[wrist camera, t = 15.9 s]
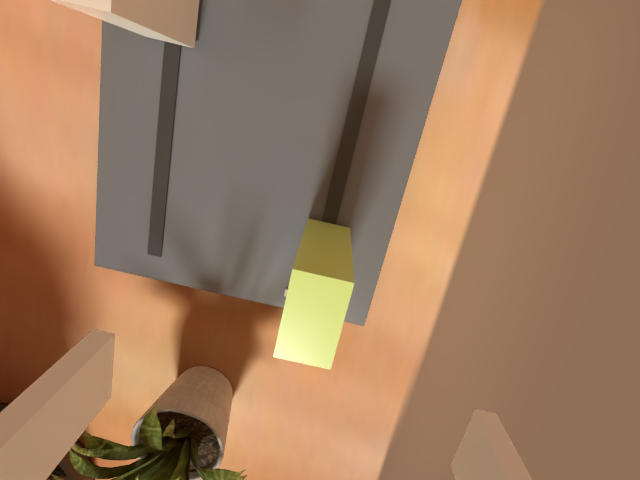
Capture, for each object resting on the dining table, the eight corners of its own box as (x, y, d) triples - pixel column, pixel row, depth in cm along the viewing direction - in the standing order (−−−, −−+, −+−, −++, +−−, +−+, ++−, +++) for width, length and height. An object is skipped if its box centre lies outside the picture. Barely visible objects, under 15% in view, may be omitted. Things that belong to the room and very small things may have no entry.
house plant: (264, 296, 31) (189, 475, 16) (313, 426, 35) (292, 670, 20) (110, 335, 33) (-89, 528, 18) (173, 454, 37) (56, 696, 22)
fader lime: (293, 282, 28) (273, 356, 20) (307, 218, 26) (292, 269, 18) (333, 291, 28) (330, 369, 20) (350, 227, 27) (354, 283, 18)
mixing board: (109, 256, 31) (92, 266, 29) (126, -104, 23) (104, -125, 21) (362, 312, 31) (364, 327, 29) (461, -22, 24) (472, -34, 22)
